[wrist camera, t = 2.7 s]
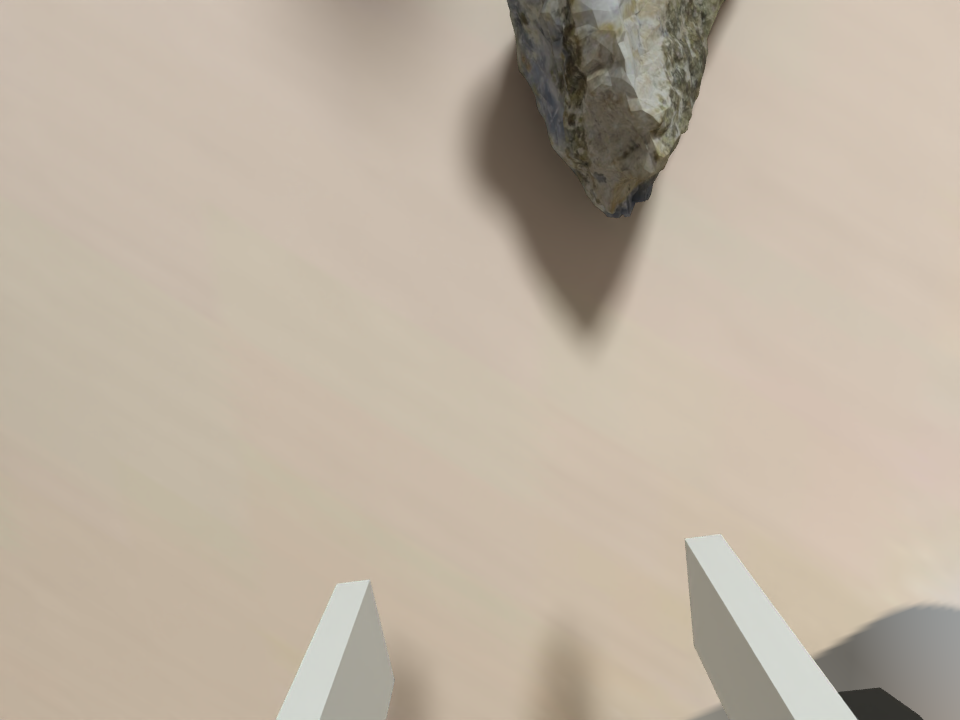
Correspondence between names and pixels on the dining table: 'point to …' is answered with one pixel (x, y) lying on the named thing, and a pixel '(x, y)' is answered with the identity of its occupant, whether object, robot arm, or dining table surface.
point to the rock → (614, 85)
